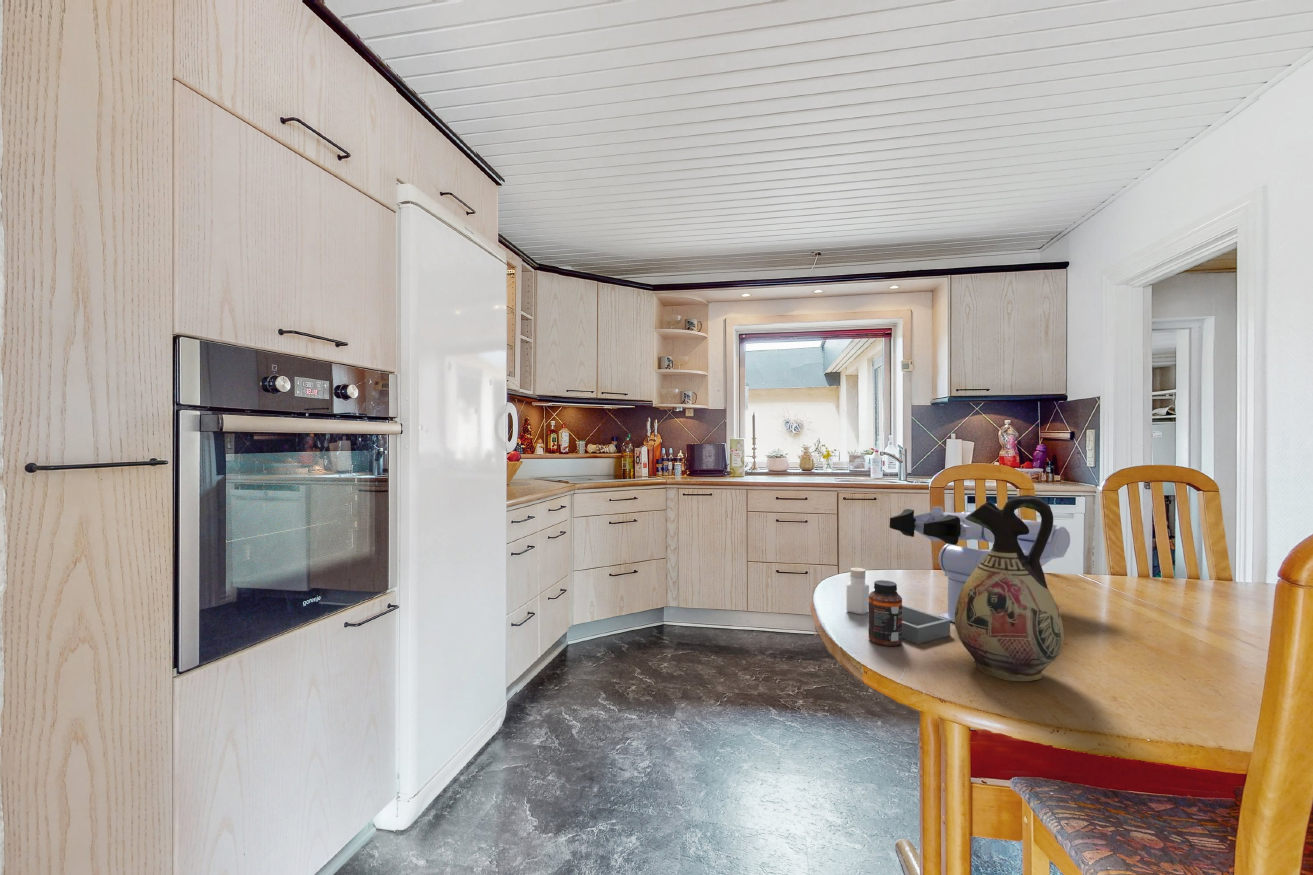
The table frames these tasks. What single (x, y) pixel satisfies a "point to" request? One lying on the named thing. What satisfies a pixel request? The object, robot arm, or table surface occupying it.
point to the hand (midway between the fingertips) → (907, 525)
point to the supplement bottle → (885, 614)
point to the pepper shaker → (857, 592)
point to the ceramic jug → (1010, 598)
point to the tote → (923, 625)
